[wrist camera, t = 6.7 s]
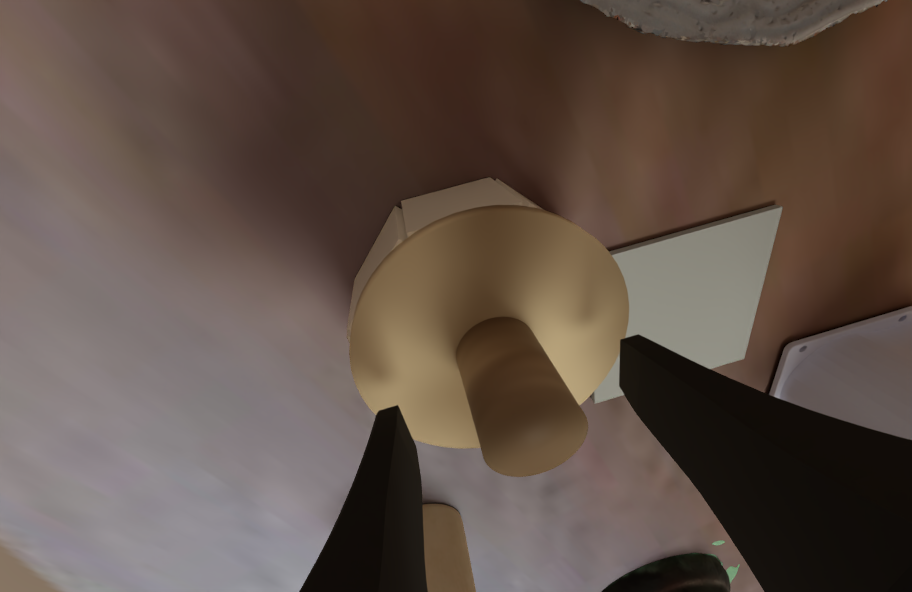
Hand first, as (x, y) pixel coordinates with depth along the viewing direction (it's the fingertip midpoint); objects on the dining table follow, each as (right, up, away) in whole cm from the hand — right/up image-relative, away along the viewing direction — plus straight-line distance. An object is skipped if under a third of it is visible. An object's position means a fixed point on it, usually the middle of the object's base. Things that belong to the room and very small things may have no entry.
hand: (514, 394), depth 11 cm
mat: (+10, +2, +9) cm, 14 cm away
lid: (-1, +1, +3) cm, 3 cm away
